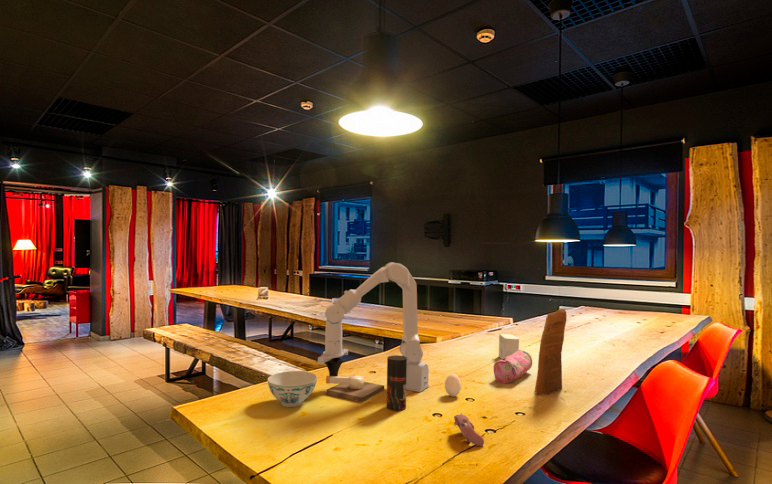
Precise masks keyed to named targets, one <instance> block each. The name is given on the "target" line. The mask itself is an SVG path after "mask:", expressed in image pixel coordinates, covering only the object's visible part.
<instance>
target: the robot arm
mask: <svg viewBox="0 0 772 484" xmlns="http://www.w3.org/2000/svg"><path fill="white" fill-rule="evenodd" d="M390 281H392V282H394V283H396V284H397V286H399V287H400V288H401V289H402V317H403V319H402V323H403V325H402V326H403V330H402V331H403V333H402V337H401V343H400V346H399V352H400V354H401V356H404V357H406V358H407V377H406V391H412V392H416V393H417V392H418V393H421V392H423V391H424V390H425V389H427V388H428V387H430V385H429V371H430V370H429V366H428V364H427V363H425V362H422V359H423V356H424V351H423V349H422V347H421V341H420V337H419V329H418V328H419V327H418V292H417V290H418V289H417V288H418V287H417V286H418V285H417V282H416V280H415V279H414V277H413V275H412V274H411V273H410V271H409V269H408V268H407V267H406V266H405V265H403V264H402V263H400V262H399V263H398V262H397V263H396V262H393V261H392V262H390V261H389V262H388V263H386V264H385V265H384V266H382V267H380V268H379V269H378V270H377V271H375V272H374V273H373V274H371V275H370V277H368V278H367V279H366V280H364V282H363V283H361V284H360V285H359V286H358V287H357V288H356V289H352V288H351V289H349V290H344V291H343V293H344V294H343V295H341V296H340V297H339V298H337V300H336V299H335V300H333V301H332V303H333V304H330V305H328V306H327V307H326V309H325V311H324V314H325V317H326V320H325V331H324V332H325V333H324V334H325V338H324V339H325V342H324V343H325V344H324V347H325V348H324V349H325V351H323V353H322V354H321V355H320V356H318V357H317V364H321V365H324V364H325V366H326V367H327V369H328V372H329V373H328V374H329V375H328V376H338V375H339V370H340V368H341V366H342V364H343V362H344V359H343V358H341V357H343V356H348V355H349V349H348V348H343V325H342V324H343V319H344V315H347V314H348V313H350V312H351V311H352V310H353V309H354V308H356V307H357V306H358V305H359V304H361V303H362V302H361V301H362V297H363V296H364V295H366V294H367V293H369V292H370V291H371V290H372V289H374V288H375V287H376V286H377V285H379V284H380V283H382V284H383V283H389V282H390Z"/></svg>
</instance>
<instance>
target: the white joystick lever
mask: <svg viewBox="0 0 772 484" xmlns="http://www.w3.org/2000/svg"><path fill="white" fill-rule="evenodd" d="M364 382H365V380H364V376H362V375H350V376H329V375H326V376H325V384H327V385H328V384H329V385H331V384H334V385H338V384H349V385H348V387H349V388H351V389H361V388H363V383H364Z"/></svg>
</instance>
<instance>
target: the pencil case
mask: <svg viewBox="0 0 772 484" xmlns="http://www.w3.org/2000/svg"><path fill="white" fill-rule="evenodd" d="M532 367H533V358H532V356H531V354H530V353H529V352H527V351H524V350H521V349H519V350H518V351H515V352H514V353H513V354H512V355H510V356H507V357H505V358H504V359H498V360H497V361H495V362H494V364H493V374H494V375H493V376H494V379H495V380H496V381H497V382H498V383H500V382H501V384H508V383H511V382H512V383H513V382H515V381H516V380H517V379H519V378H521V377H522V376H524V375H525V374H526V373H527V372H528V371H530V369H531V368H532Z"/></svg>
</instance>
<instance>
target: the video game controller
mask: <svg viewBox="0 0 772 484" xmlns="http://www.w3.org/2000/svg"><path fill="white" fill-rule="evenodd" d="M453 419H454V421H453V425H454V426H455V427H456V426H457V427H458V428H459V430H460V432H461V434H462V438H463V440H465V442H466V443H468V442H470V443H472V444H473V445H475V446H476V447H483V446H484V444H485V440H484V438H483V437H482V436H481V435H480V434H479V433H477V432H476V431H475V425H474V424H473V423H472V422H471V421H470V419H469V417H468V416H466V415H465V414H462V412H461V413H457V414H456V415H453Z"/></svg>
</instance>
